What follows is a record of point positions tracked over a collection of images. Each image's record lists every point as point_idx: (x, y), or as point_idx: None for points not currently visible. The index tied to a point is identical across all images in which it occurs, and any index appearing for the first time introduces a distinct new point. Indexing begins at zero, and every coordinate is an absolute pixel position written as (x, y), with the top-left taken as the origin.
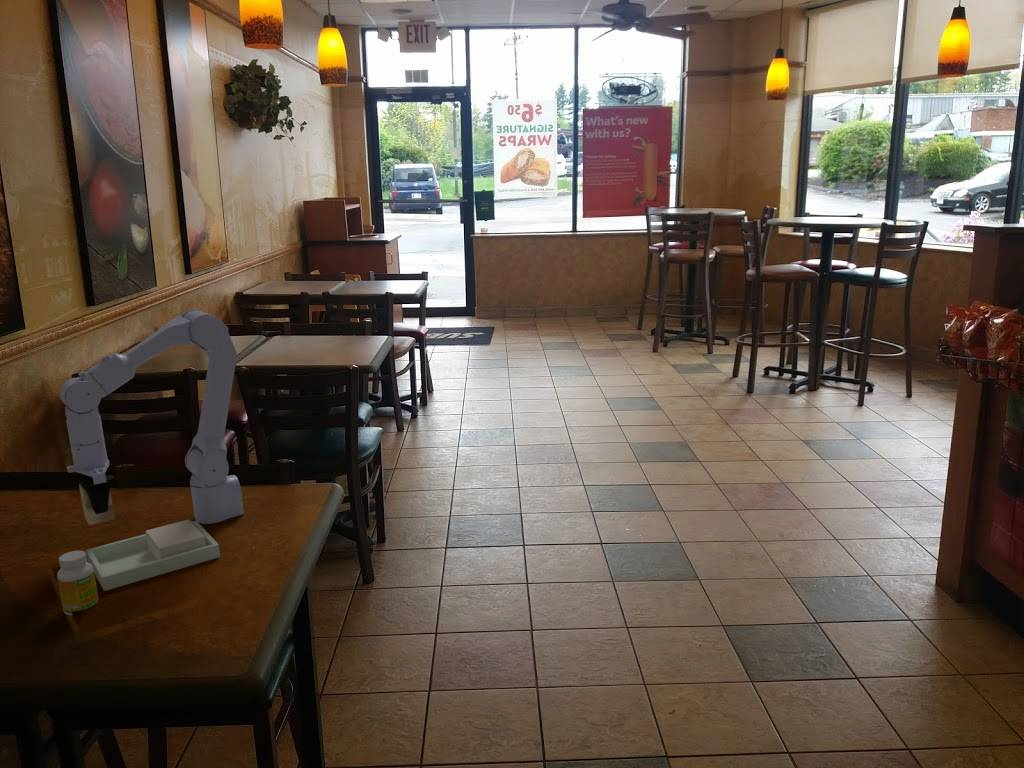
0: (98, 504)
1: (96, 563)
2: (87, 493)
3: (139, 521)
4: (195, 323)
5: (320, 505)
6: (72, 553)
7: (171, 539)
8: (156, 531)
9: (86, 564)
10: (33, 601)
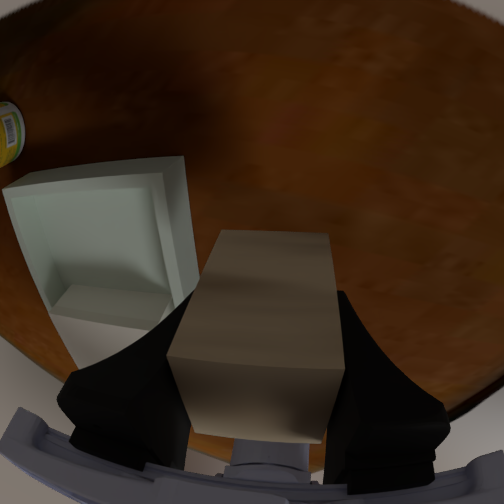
0: None
1: (60, 186)
2: (117, 352)
3: (403, 319)
4: None
5: (228, 459)
6: None
7: (82, 342)
8: None
9: None
10: (68, 31)
